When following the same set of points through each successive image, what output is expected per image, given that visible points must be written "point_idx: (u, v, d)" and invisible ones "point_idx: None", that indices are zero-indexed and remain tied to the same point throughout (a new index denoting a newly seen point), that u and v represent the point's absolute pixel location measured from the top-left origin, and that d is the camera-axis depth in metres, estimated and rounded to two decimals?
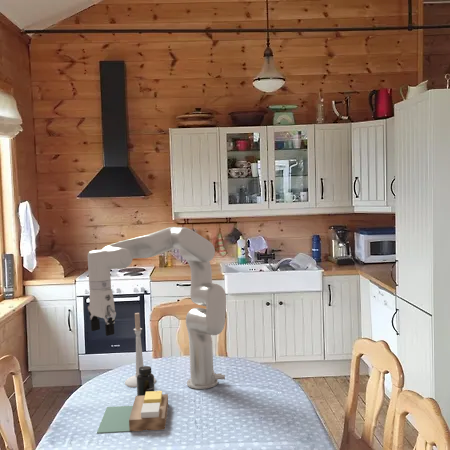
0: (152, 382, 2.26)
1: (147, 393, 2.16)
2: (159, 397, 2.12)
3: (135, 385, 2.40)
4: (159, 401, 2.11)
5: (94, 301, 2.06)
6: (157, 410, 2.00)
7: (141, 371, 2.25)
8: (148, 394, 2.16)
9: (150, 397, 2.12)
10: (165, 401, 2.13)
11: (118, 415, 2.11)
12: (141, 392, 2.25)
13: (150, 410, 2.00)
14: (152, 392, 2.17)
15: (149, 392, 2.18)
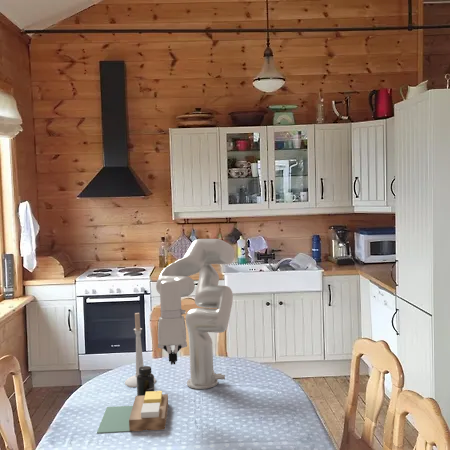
0: (152, 382, 2.26)
1: (147, 393, 2.16)
2: (159, 397, 2.12)
3: (135, 385, 2.40)
4: (159, 401, 2.11)
5: (170, 330, 2.10)
6: (157, 410, 2.00)
7: (141, 371, 2.25)
8: (148, 394, 2.16)
9: (150, 397, 2.12)
10: (165, 401, 2.13)
11: (118, 415, 2.11)
12: (141, 392, 2.25)
13: (150, 410, 2.00)
14: (152, 392, 2.17)
15: (149, 392, 2.18)
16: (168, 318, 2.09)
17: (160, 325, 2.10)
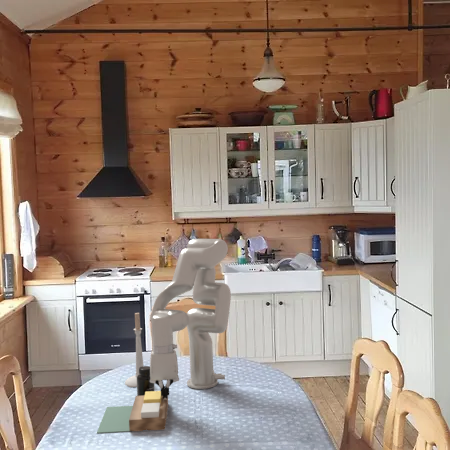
0: None
1: (147, 393, 2.16)
2: (159, 397, 2.12)
3: (135, 385, 2.40)
4: (159, 401, 2.11)
5: (162, 365, 2.11)
6: (157, 410, 2.00)
7: (141, 371, 2.25)
8: (148, 394, 2.16)
9: (149, 397, 2.12)
10: (165, 401, 2.13)
11: (118, 415, 2.11)
12: (141, 392, 2.25)
13: (150, 410, 2.00)
14: (151, 392, 2.17)
15: (148, 392, 2.18)
16: (160, 353, 2.10)
17: (152, 360, 2.11)
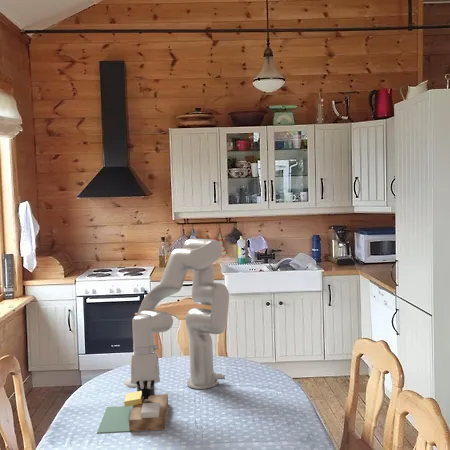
0: None
1: (128, 395, 2.16)
2: (139, 397, 2.12)
3: (135, 385, 2.40)
4: (139, 401, 2.11)
5: (143, 366, 2.11)
6: (157, 410, 2.00)
7: None
8: (129, 395, 2.16)
9: (130, 398, 2.12)
10: (165, 401, 2.13)
11: (118, 415, 2.11)
12: None
13: (150, 410, 2.00)
14: (132, 393, 2.17)
15: (130, 393, 2.18)
16: (140, 354, 2.09)
17: (133, 361, 2.11)
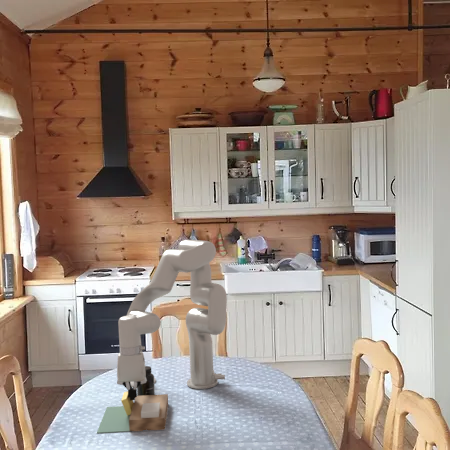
0: (152, 382, 2.26)
1: None
2: None
3: None
4: (124, 400, 2.10)
5: (129, 367, 2.11)
6: (157, 410, 2.00)
7: None
8: None
9: None
10: (165, 401, 2.13)
11: (118, 415, 2.11)
12: (141, 392, 2.25)
13: (150, 410, 2.00)
14: None
15: None
16: (126, 355, 2.09)
17: (119, 362, 2.11)
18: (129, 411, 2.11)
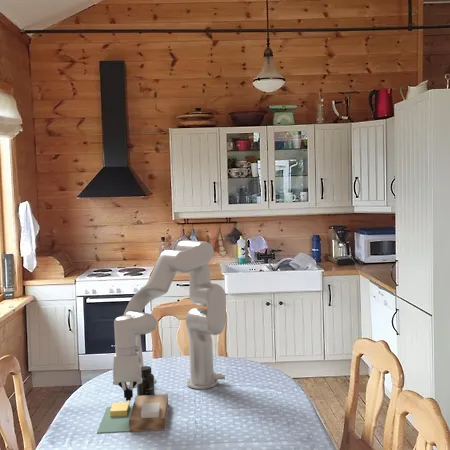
0: (152, 382, 2.26)
1: None
2: None
3: None
4: (111, 414, 2.11)
5: (125, 367, 2.11)
6: (157, 410, 2.00)
7: None
8: None
9: None
10: (165, 401, 2.13)
11: None
12: (141, 392, 2.25)
13: (150, 410, 2.00)
14: None
15: None
16: (122, 355, 2.09)
17: (115, 362, 2.11)
18: (123, 412, 2.11)
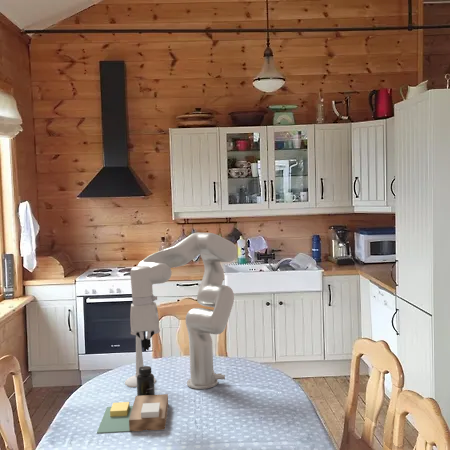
0: (152, 382, 2.26)
1: None
2: None
3: (135, 385, 2.40)
4: (111, 414, 2.11)
5: (142, 317, 2.11)
6: (157, 410, 2.00)
7: (141, 371, 2.25)
8: None
9: None
10: (165, 401, 2.13)
11: None
12: (141, 392, 2.25)
13: (150, 410, 2.00)
14: None
15: None
16: (139, 305, 2.09)
17: (132, 312, 2.11)
18: (123, 412, 2.11)
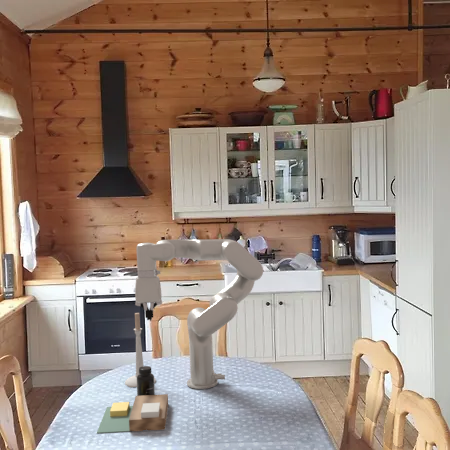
0: (152, 382, 2.26)
1: None
2: None
3: (135, 385, 2.40)
4: (111, 414, 2.11)
5: (146, 289, 2.30)
6: (157, 410, 2.00)
7: (141, 371, 2.25)
8: None
9: None
10: (165, 401, 2.13)
11: None
12: (141, 392, 2.25)
13: (150, 410, 2.00)
14: None
15: None
16: (144, 277, 2.29)
17: (137, 284, 2.31)
18: (123, 412, 2.11)
